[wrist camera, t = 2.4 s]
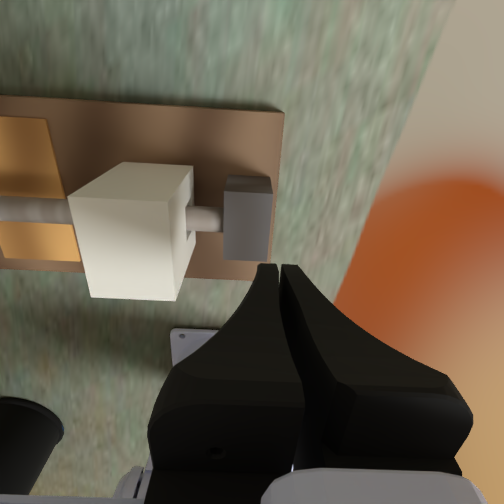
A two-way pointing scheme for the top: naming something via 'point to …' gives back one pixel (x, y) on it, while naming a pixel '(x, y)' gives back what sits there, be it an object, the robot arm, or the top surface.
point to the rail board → (140, 151)
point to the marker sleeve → (135, 230)
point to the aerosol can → (25, 443)
